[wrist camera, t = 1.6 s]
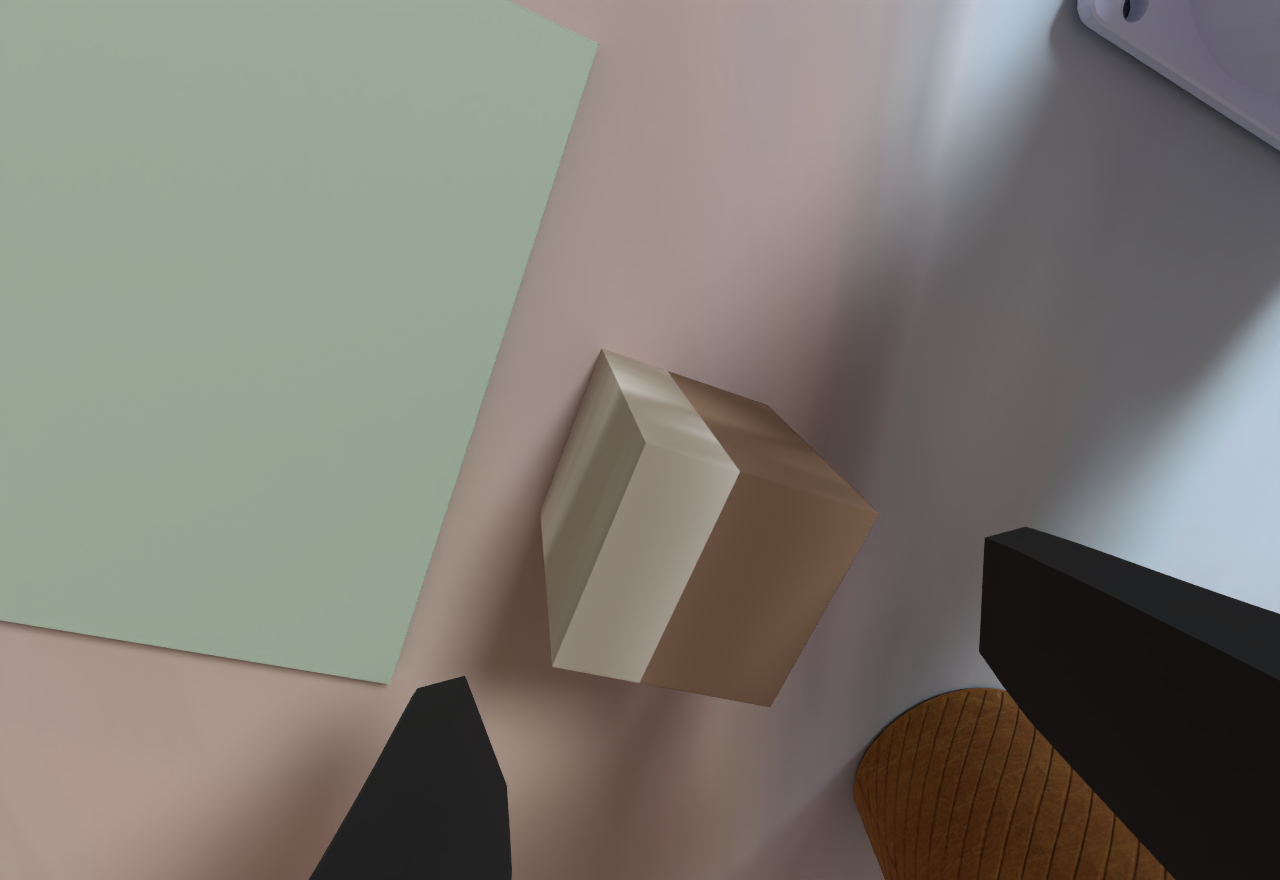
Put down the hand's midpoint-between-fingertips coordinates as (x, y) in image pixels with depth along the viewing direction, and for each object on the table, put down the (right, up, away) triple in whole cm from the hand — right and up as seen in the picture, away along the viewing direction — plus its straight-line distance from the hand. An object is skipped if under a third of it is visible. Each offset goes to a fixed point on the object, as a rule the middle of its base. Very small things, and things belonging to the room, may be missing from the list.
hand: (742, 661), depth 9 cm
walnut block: (-1, +3, +6) cm, 7 cm away
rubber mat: (-10, +5, +3) cm, 12 cm away
